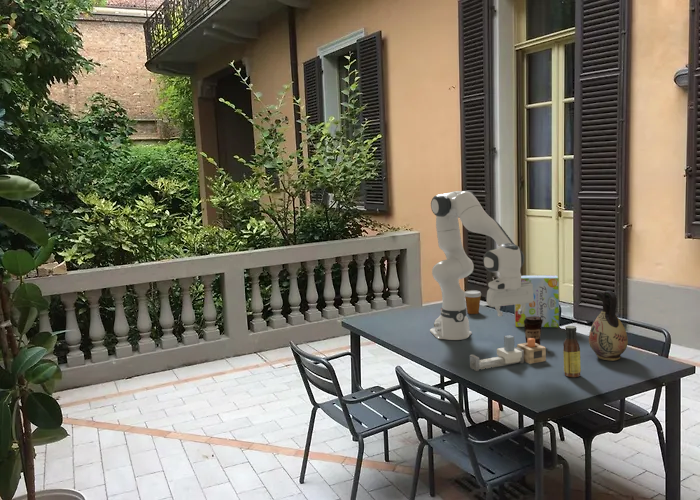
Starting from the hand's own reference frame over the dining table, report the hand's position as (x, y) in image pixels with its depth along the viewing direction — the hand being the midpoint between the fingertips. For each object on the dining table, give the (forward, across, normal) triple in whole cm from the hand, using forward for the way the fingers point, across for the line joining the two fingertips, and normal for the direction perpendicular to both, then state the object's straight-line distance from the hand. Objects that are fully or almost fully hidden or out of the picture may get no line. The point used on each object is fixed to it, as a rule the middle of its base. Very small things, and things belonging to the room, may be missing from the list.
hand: (510, 314), depth 256 cm
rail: (+21, +7, +1) cm, 22 cm away
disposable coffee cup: (+21, -22, -82) cm, 88 cm away
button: (+17, -10, -1) cm, 20 cm away
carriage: (+20, +1, 0) cm, 20 cm away
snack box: (+21, -40, -46) cm, 65 cm away
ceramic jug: (+21, -41, +10) cm, 47 cm away
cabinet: (+21, -10, -1) cm, 23 cm away
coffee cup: (+21, -21, -18) cm, 35 cm away
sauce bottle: (+21, -15, +22) cm, 34 cm away
